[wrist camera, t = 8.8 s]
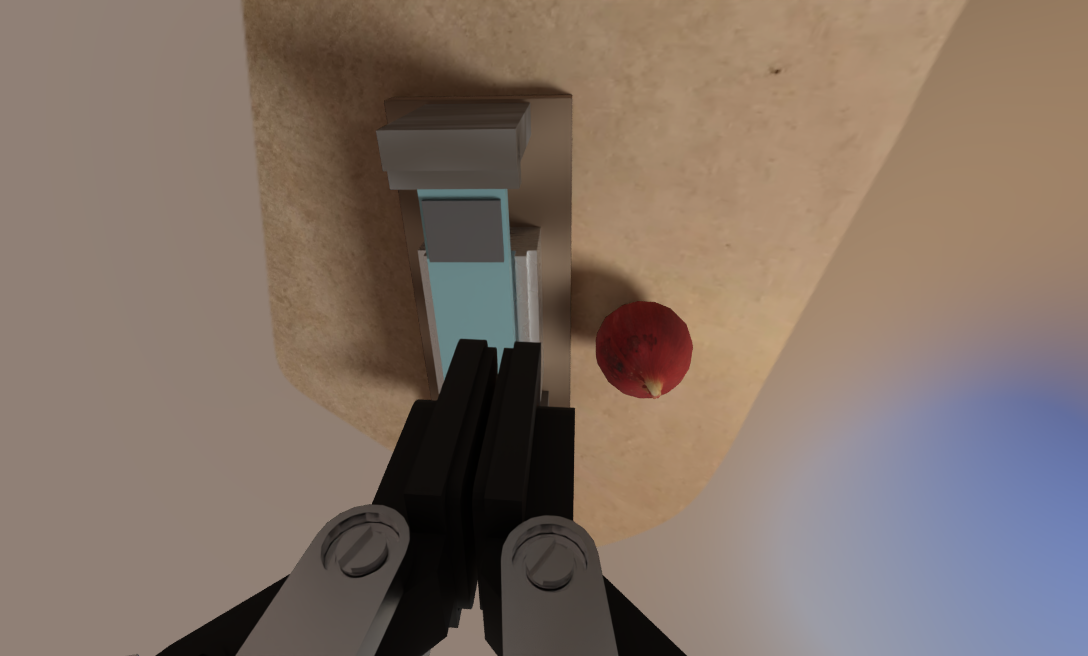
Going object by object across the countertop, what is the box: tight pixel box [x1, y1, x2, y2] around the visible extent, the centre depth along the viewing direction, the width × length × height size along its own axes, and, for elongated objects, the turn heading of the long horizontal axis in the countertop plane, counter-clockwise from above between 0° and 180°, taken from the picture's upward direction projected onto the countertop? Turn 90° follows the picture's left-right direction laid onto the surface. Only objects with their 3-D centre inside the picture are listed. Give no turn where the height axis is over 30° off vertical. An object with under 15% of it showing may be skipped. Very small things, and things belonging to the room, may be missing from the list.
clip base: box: [376, 95, 572, 408], centre depth 31 cm, size 23×10×10 cm, turn 1°
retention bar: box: [417, 189, 516, 380], centre depth 29 cm, size 18×4×1 cm, turn 1°
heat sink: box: [418, 227, 544, 401], centre depth 32 cm, size 10×6×4 cm, turn 1°
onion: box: [596, 301, 693, 399], centre depth 32 cm, size 6×6×8 cm
